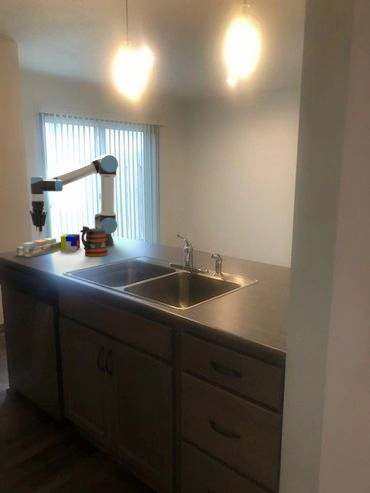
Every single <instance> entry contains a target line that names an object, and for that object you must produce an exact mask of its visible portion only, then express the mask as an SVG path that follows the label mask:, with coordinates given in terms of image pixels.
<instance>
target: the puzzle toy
mask: <svg viewBox="0 0 370 493" xmlns="http://www.w3.org/2000/svg"><path fill="white" fill-rule="evenodd" d="M60 242H61V250H60V252H62V251H63V252H77V251H78V250H80V249H81V234H78V233H77V234H76V233H65V234H62V235H61V236H60ZM79 248H80V249H79Z"/></svg>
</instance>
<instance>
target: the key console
mask: <svg viewBox="0 0 370 493" xmlns="http://www.w3.org/2000/svg"><path fill="white" fill-rule="evenodd" d="M60 249H61V241H57V240H56V242H55V243H51V244H48V243H47V245H42V246H37V247H34V248H23V245H22V246H17V247H16V256H20V257H28V258H33V257H37V256H40V255H41V256H42V255H44V254H48V253H52V252H53V253H54V252H56V250H57V251H61V250H60Z"/></svg>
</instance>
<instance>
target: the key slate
mask: <svg viewBox="0 0 370 493" xmlns="http://www.w3.org/2000/svg"><path fill="white" fill-rule="evenodd" d="M21 245H22V246H23V248H34V247H37V243H34V242H33V241H29V242H24V243H22V244H21Z"/></svg>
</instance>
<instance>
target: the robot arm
mask: <svg viewBox="0 0 370 493" xmlns="http://www.w3.org/2000/svg"><path fill="white" fill-rule="evenodd" d="M118 162H119V161H118V159H117V157H116V156H114V155H112V154H110V153H109V154H103V155H100V156H99V157H97V158H94V159H93V160H91V161H90V162H89V163H87V164H85V165H81V166H79V167H77V168H74V169H72V170H69V171H67V172H65V173H62V174H59V175H56V176H54V177H52V178H48V179H44V177H43V176H31V177H30V195H31V198H30V199H31V207H32V209H31V210H29V214H30V216H31V217H30V218H31V220H32V224H33V225H32V226H35V230H36V237H38V238H40V237H42V236H43V227H44V226H45V225H46V219H47V214H48V211H46V210H45V208H44V207H45V201H44V199H45V197H44V192H62V191H63V189H64V188H63V187H64V186H67V185H70V184H72V183H74V182H76V181H79V180H82V179H83V178H86V177H89V176H91V175H94V174H95V175H98V174H99V176H100V178H101V184H100V185H101V186H100V188H101V190H100V193H101V194H100V195H101V196H100V198H101V199H100V203H101V204H100V205H101V206H100V208H101V209H100V210H101V211H100V213H95V214H94V228H100V229H101V228H103V230H105V234H106V246H107V247H109V246H113V245H114V244H115V241H114V239H113V235H112V234H113V233H115V232H116V230H118V222H117V215H116V213H115V211H114V209H115V208H114V206H115V203H114V202H115V177H116V176H117V169H118V167H119V163H118Z"/></svg>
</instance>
